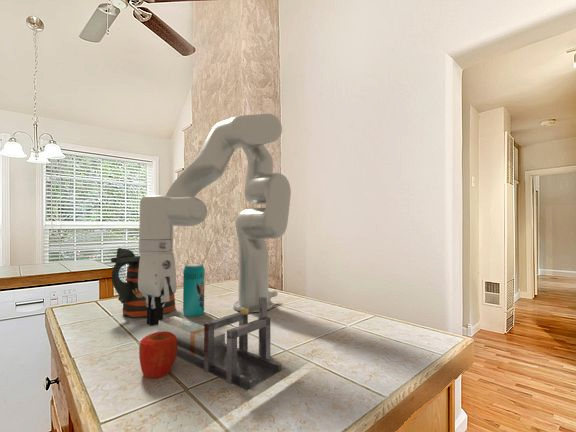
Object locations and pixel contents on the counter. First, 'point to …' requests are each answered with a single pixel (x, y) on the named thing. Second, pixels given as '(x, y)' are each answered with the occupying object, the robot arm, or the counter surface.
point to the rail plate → (248, 366)
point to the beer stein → (132, 286)
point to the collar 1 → (209, 336)
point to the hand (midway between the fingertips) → (154, 323)
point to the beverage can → (193, 290)
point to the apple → (157, 354)
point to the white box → (192, 335)
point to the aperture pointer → (262, 313)
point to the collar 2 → (242, 330)
